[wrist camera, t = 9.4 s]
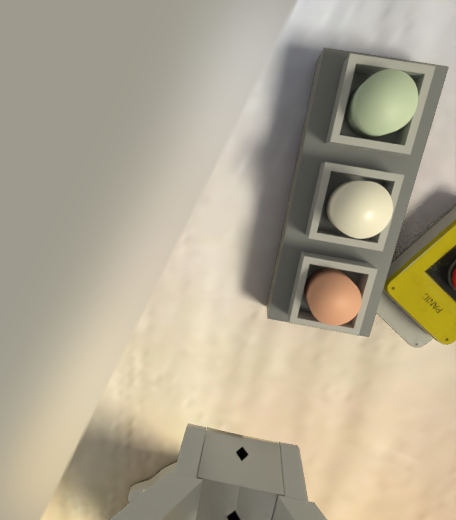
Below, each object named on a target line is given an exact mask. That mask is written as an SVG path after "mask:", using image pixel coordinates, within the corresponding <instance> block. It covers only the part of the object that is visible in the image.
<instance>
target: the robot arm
mask: <svg viewBox="0 0 456 520" xmlns="http://www.w3.org/2000/svg"><path fill="white" fill-rule="evenodd" d="M205 433H206V434H205ZM128 503H129V504H128V505H127V506H125V507H124V508H123V509H122V510H121V511H119V512H118V513H117V514H116V515H114V516H113V517H112V518H111V519H109V520H327V519H326V517H325V516H324V515H323V513H322V512H321V511H320V510H319V508H318V507H317V506H316V504H315V503H313V502H308V497H307V491H306V485H305V479H304V473H303V467H302V461H301V455H300V449H299V447H298V446H297V445H292V444H286V443H281V442H279V443H278V442H273V441H268V440H263V439H258V438H253V437H248V436H243V435H238V434H234V433H230V432H225V431H221V430H217V429H212V428H208V427H207V430H206V427H202V426H198V425H193V424H188V425H187V427H186V431H185V434H184V438H183V441H182V445H181V449H180V452H179V456H178V459H177V462H176V463H173V464H171V465H169V466H167V467H165V468H164V469H162V470H161V471H160V472H158V473H157V474H156V475H155V476H154V477H153V478H151V479H149V480H147V481H143V482H140V483H137V484H135V485H133V486H132V487H131V488H130V491H129V494H128Z"/></svg>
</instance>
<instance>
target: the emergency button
mask: <svg viewBox="0 0 456 520" xmlns="http://www.w3.org/2000/svg"><path fill="white" fill-rule="evenodd" d="M376 313H377V314H378V315H379V316H380V317H381V318H382V319H383V320H384V321H385V322H386V323H388V324H389V325H390V326H391V327H392V328H393V329H394V330H395V331H396V332H397V333H398V334H399V335H400V336H401V337H402V338H403V339H404V340H405V341H406V342H407V343H409V344H410V345H411V346H413V347H415V348H417V347H422V346H424V345H425V344H427V343H428V342H429V341H431V340H432V339H433V338H434V339H435V340H437V341H438V342H440V343H442V344H446V345H448V344H451V343H453V342H454V341H455V340H456V204H455V205H454V206H453V207H452V208H451V209H450V210H449V211H448V212H446V213H445V214H444V215H443V216H442V217H441V218H440V219H439V220H437V221H436V222H435V223H434V224H433V225H432V226H431V227H430V228H428V229H427V230H426V231H425V232H424V233H423V234H422V235H421V236H419V237H418V238H417V239H416V240H415V241H414V242H413V243H412V244H411V245H409V246H408V247H407V248H406V249H405V250H404V251H403V252H402V253H400V254H399V255H398V256H397V257H396V258H395V259H394V260H393V261H391V264H390V268H389V271H388V275H387V278H386V281H385V285H384V288H383V292H382V295H381V298H380V302H379V305H378V308H377V312H376Z"/></svg>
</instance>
